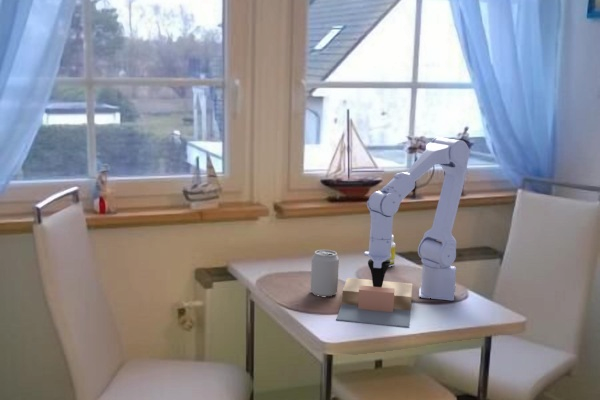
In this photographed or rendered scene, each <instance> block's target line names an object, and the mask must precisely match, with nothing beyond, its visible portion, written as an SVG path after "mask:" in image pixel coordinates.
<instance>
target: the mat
mask: <svg viewBox="0 0 600 400" xmlns="http://www.w3.org/2000/svg"><path fill="white" fill-rule="evenodd" d="M410 318H411V309H410V310H400V309H393V312H386V311H376V310H366V309H358V305H348V304H342V303H341V305H340V307H339V311H338V313H337V316H336V319H335V320H336V321H340V322H350V323H360V324H370V325H378V326H380V325H381V326H387V327H401V328H410V320H411V319H410Z"/></svg>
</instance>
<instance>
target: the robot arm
mask: <svg viewBox="0 0 600 400" xmlns="http://www.w3.org/2000/svg"><path fill="white" fill-rule="evenodd" d="M470 155H471V150H470V148H469V146H468V144H467V143H466V142H465V141H464V140H461V139H460V140H459V139H451V138H445V137H442V136H435V137H434V138H432V139H431V141H430V142H428V143H427V144H426V147H425V151H423V153H421V155H420V156H419V157H418V158H417V160H415V161H414V163H413V164H412V165H411V166H410V167H409V168H408V169H407V170H406V171H405V172H403V171H401V172H397V173H395V174H394V175H393V178H392V179H391V180H390V181H389V182H388V183H387V184H386V185H383V186H382V188H381V189H380V190H378V191H373V192H372V194H370V196H369V198H368V200H367V201H366V206H367V209H368V210H369V217H370V229H369V231H370V232H369V245H368V251H364V253H363V255H364V256H366V257H368V258H369V259H368V261H367V265H368V267H369V270H370V273H371V280H372V282H373V287H382V284H383V281H385V274H386V273H387V270H388V269H389V268H390V267H389V265H390V260H388V259H390V258H391V241H392V235H393V225H394V215H395V214H396V213H397V212H398V211H399V208H400V204H401V203H402V202H403V200H404V199H405V198H406V197H407V196H408V195H409V194H410V193H411V192H412V191H413V190H414V189H415V187H416V181H417V180H419V179H420V178H421V177H422V176H423V175H424V174H426V173H427V172H429V170H430V169H432V168H433V167H434V166H435V165H438V166H440V168H442V170H443V171H444V173H445V175H444V179H443V183H442V185H441V186H442V187H441V190H440V194H439V199H438V203H437V206H436V211H435V214H434V218H433V223H432V227H431V228H430V229H428V230H427V231H425V232H424V234H423V237H422V239H421V241H420V242H419V243H418V244H419V245H418V246H417V254H418V256H419V258H420V259H421V261H420V262H421V263H422V269H421V281H420V282H421V284H420V287H419V288H418V297H419V298H420V297H421V298H422V299H430V298H431V299H432V300H433V299H434V300H441V301H442V300H444V301H455V293H456V288H457V287H456V278H457V277H456V275H457V267H456V266H455V265H453V264H454V262H455V260H456V257H457V245H458V244H457V243H458V242H457V240H456V238H455V236H453V233H452V232H453V228H454V224H455V220H456V216H457V212H458V210H459V209H458V207H459V204H460V200H461V197H462V192H463V188H464V184H465V181H466V177H467V172H468V162H469V158H470Z"/></svg>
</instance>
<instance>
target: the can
mask: <svg viewBox="0 0 600 400" xmlns="http://www.w3.org/2000/svg"><path fill="white" fill-rule="evenodd" d="M339 264H340V258H339V256H338V253H337V251H334V250H331V249H318V250H315V251H314V254H313V255H312V256H311V271H310V272H311V273H310V289H309V290H310V292H311V293H312V294H313V295H314V294H315V295H314V296H316V295H319V296H331V297H333V296H332V295H334V296H335V294H337V293H338V287H339V286H338V285H339V270H340V269H339V268H340V267H339V266H340V265H339ZM319 296H318V297H319Z"/></svg>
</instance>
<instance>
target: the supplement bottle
mask: <svg viewBox="0 0 600 400" xmlns="http://www.w3.org/2000/svg"><path fill="white" fill-rule="evenodd" d="M394 239H395V237H394V234H392V241H391V258H390V259H388V260H390V265H389V267H388V268H390V267H391V266H392V267H394V266H395V261H396V260H395V259H396V258H395V257H396V243H395V242H394Z"/></svg>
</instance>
